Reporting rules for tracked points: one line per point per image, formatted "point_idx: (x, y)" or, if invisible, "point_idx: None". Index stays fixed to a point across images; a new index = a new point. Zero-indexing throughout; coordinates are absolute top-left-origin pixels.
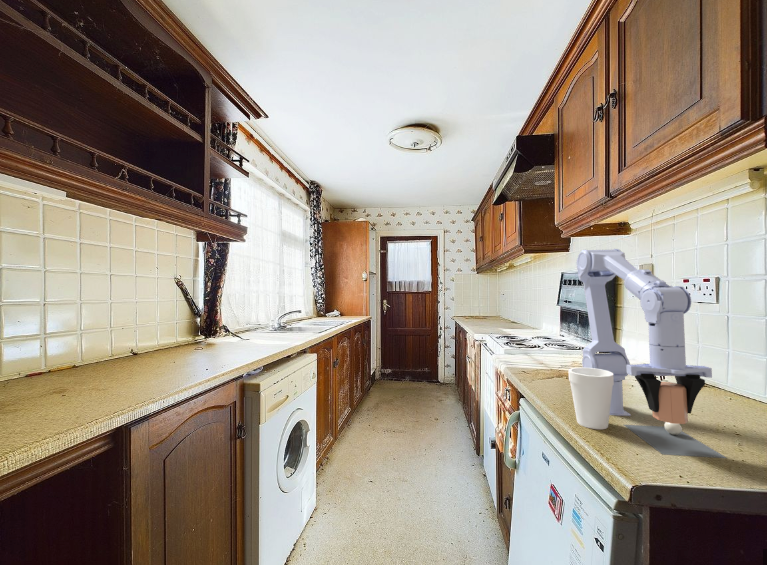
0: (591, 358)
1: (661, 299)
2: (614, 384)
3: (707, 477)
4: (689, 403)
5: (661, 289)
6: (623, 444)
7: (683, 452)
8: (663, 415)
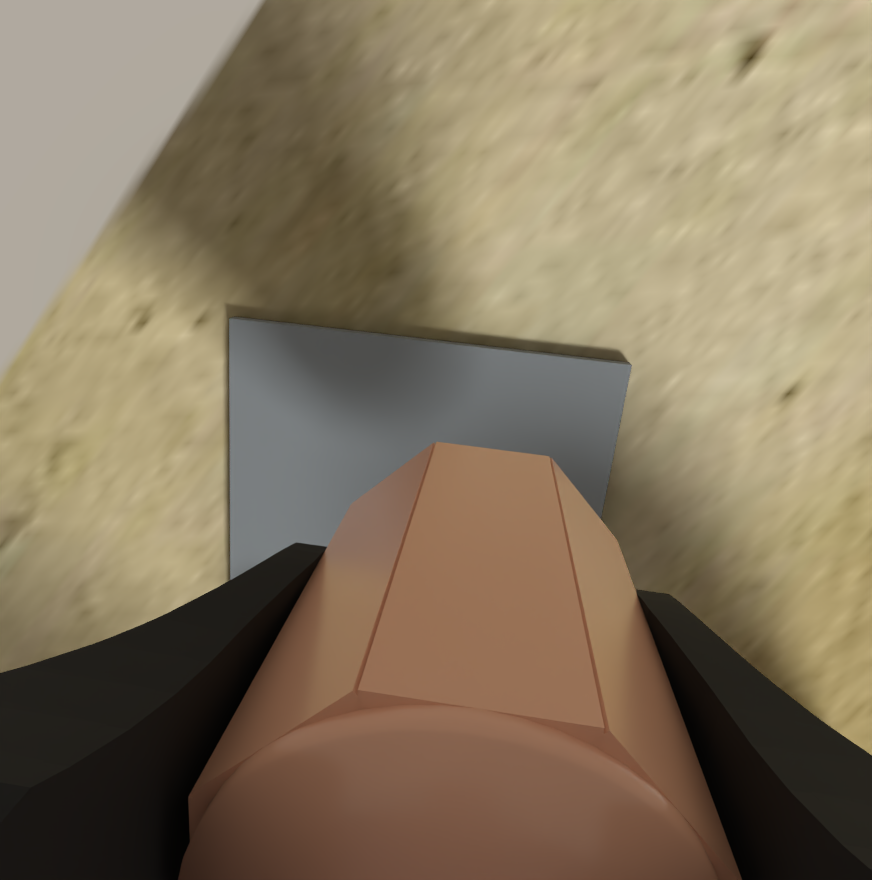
0: None
1: None
2: None
3: (564, 51)
4: (275, 590)
5: None
6: (764, 538)
7: (461, 392)
8: (601, 540)
